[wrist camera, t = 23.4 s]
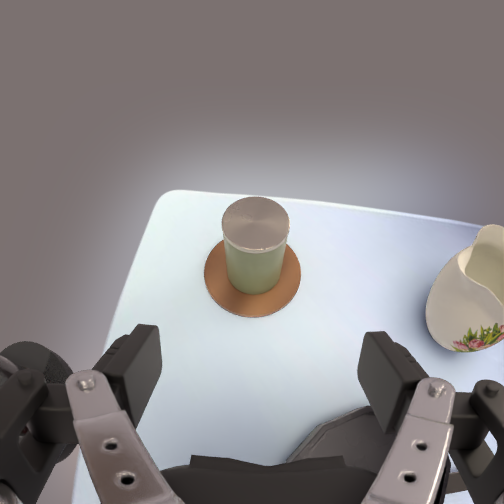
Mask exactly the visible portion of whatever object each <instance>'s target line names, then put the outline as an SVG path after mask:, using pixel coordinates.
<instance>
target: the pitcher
mask: <svg viewBox="0 0 504 504" xmlns="http://www.w3.org/2000/svg"><path fill="white" fill-rule="evenodd" d="M426 322H427V327H428V330H429V332H430V334H431V336H432V337H433V339H434V340H435V341H436V342H437V343H439V344H440V345H441V346H443V347H444V348H446V349H448V350H451V351H455V352H474V351H479V350H482V349H486V348H488V347H491V346H492V345H494V344H496V343H498V342H500V341H501V340H502V339H504V227H502V226H498V225H492V224H491V225H486V226H484V227H482V228H481V229H480V231H479V232H478V234H477V236H476V238H475V240H474V242H473V244H472V245H471V246H469V247H467V248H465V249H463V250H462V251H460V252H459V253H457V254H456V255H455V256H454V257H452V258H451V259H450V260H449V261H448V263H447V264H446V265H445V266H444V267H443V269H442V270H441V271H440V273H439V274H438V276H437V278H436V279H435V281H434V283H433V285H432V287H431V290H430V293H429V296H428V299H427V303H426Z"/></svg>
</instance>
